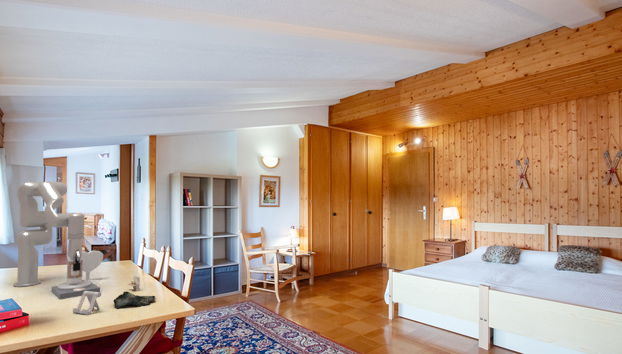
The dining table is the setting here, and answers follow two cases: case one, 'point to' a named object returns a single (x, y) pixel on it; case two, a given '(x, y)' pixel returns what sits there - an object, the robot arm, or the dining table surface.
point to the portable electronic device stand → (92, 301)
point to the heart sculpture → (91, 262)
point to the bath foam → (74, 275)
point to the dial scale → (74, 289)
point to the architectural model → (135, 283)
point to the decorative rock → (132, 300)
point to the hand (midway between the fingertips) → (74, 269)
